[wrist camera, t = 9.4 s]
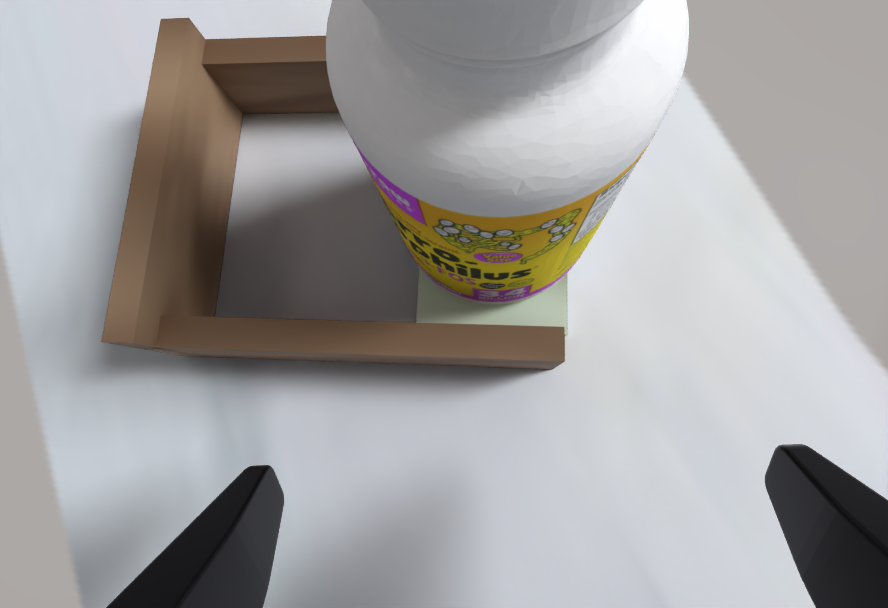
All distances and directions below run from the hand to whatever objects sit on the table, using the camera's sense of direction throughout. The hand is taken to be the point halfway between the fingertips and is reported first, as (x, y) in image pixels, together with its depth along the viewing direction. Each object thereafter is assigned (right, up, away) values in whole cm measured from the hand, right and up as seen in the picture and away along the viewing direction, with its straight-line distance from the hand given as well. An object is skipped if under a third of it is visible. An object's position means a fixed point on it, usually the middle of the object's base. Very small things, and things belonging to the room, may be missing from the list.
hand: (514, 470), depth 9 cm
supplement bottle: (+1, +6, +9) cm, 11 cm away
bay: (-4, +6, +10) cm, 12 cm away
